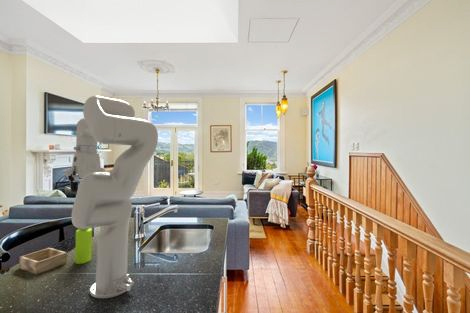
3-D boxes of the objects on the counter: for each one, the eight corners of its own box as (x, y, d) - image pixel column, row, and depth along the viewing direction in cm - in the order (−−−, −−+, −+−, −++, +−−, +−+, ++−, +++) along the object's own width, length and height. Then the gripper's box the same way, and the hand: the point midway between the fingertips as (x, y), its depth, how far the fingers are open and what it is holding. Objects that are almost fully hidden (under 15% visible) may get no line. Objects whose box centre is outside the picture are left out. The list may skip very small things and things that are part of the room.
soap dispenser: (85, 264, 97) (86, 216, 97) (71, 262, 99) (72, 214, 99) (96, 258, 103) (97, 212, 103) (83, 257, 105) (84, 211, 105)
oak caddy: (66, 263, 98) (66, 252, 98) (36, 274, 88) (37, 262, 88) (49, 257, 103) (49, 247, 103) (19, 268, 93) (19, 256, 93)
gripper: (72, 149, 92) (70, 193, 91) (110, 150, 108) (109, 188, 107) (59, 149, 94) (58, 192, 94) (99, 150, 110) (98, 187, 110)
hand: (85, 190), depth 101 cm, fingers open, 9 cm apart
